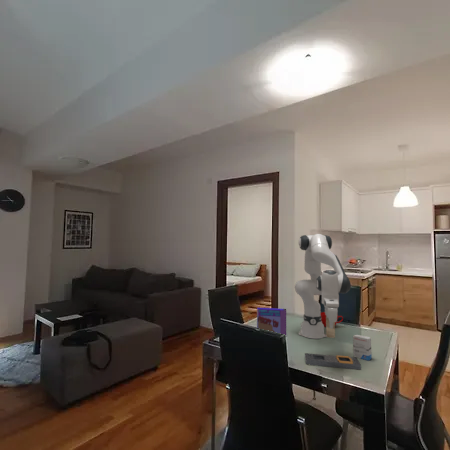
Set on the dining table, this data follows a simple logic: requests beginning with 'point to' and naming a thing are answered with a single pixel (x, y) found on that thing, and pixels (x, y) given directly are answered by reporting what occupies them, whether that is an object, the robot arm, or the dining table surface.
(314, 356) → the rail
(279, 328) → the cereal box
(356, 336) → the ink box
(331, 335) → the peg
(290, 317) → the dining table surface
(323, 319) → the ceramic cup
